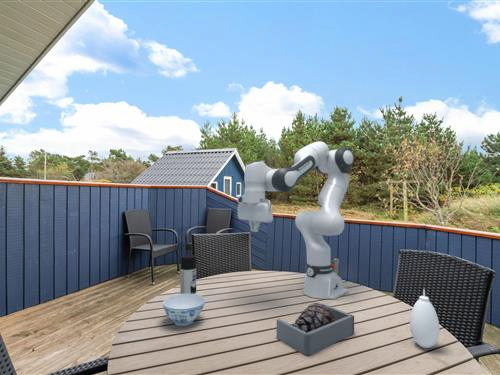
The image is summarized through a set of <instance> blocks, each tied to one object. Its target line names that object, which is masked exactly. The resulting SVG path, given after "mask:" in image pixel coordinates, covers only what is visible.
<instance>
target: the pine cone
mask: <svg viewBox="0 0 500 375" xmlns="http://www.w3.org/2000/svg"><path fill="white" fill-rule="evenodd" d="M323 304H324V303H318V302H314V303H311V304H309V305H308V306H307V307H306V308H305V309H304V310H302V311H301V312H300V315H299V316H298V318H296V319H295V322H294V323H293V324H291V325H292V326H294V327H296V328H298V329H300V330H302V331H304V332H306V333H308V332H310V331H313V330H315V329H317V328H320V327H322V326H325V325H327V324H330V323H332V322H334V315H333V312H332V311H331V310H330V309H329V308H327V307H326V306H325V305H326V304H325V305H323Z"/></svg>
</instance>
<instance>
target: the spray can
mask: <svg viewBox="0 0 500 375" xmlns="http://www.w3.org/2000/svg"><path fill="white" fill-rule="evenodd" d="M179 270H180V273H179V274H180V276H179V277H180V290H179V292H180V293H179V294H197V255H192V254H184V255H181V256H180V269H179Z"/></svg>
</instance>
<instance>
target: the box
mask: <svg viewBox="0 0 500 375" xmlns="http://www.w3.org/2000/svg"><path fill="white" fill-rule="evenodd" d="M322 304H323V305H325V306H326V307H327V308H329V309H330V310H331V311H332V312H333V315H334V322H332V323H330V324H327V325H325V326H322V327H320V328H317V329H315V330H313V331H310V332H308V333H306V332H304V331H302V330H300V329H298V328H296V327H294V326H292V325H293V324H291V323H289V322H287V321H284V320H283V319H281V318H277V319H276V339H277V340H279V341H281V342H282V343H284V344H285V345H287V346H289V347H290V348H292V349H294V350H296V351H297V352H299V353H300V354H302V355H304V356H306V357H309V356H311V355H313V354H315V353H318V352H319V351H322V350H324V349H325V348H328V347H329V346H332V345H333V344H337V343H338V342H340V341H342V340H344V339H346V338H348V337H350V336H353V335H354V334H355V315H353V314H351V313H347V312H346V311H344V310H343V311H342V310H340V309H338V308H336V307H333V306H329V305H327V304H325V303H322Z"/></svg>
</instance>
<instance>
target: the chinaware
mask: <svg viewBox="0 0 500 375" xmlns="http://www.w3.org/2000/svg"><path fill="white" fill-rule="evenodd" d="M205 303H206V298H205V297H204V296H203V295H200V294H197V293H196V294H180V293H179V294H174V295H171V296H169V297H167V298H165V299H163V301H162V306H163V310H164V312H165V314H166V316H167V317H168V318H169V319H170V320H171V321H173V323H174V324H175V325H176V326H180V327H185V326H190V325H191V324H193V323H194V320H195V319H197V318H199V316H200V314H201V313H202V311H203V309H204V306H205Z"/></svg>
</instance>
